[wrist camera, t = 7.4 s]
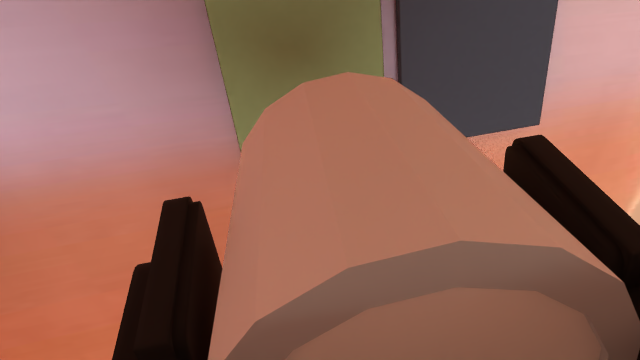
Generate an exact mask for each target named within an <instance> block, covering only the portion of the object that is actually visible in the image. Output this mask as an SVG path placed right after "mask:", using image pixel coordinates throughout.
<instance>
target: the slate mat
mask: <svg viewBox="0 0 640 360" xmlns="http://www.w3.org/2000/svg"><path fill="white" fill-rule="evenodd" d="M557 5H558V0H396V15H397V50H398V83H400V84H401V85H403V86H404V87H406V88H408V89H409V90H411V91H412V92H414V93H415V94H417V95H419V96H420V97H422V98H423V99H425V100H426V101H427V102H428V103H429V104H430V105H431V106H432V107H434V108H435V109H436V110H437V111H438V112H439V113H440V114H441V115H442V116H443V117H444V118H446V119H447V120H448V121H449V122H450V123H451V124H452V125H453V126H454V127H455V128H456V129H457V130H459V131H460V132H461V133H462V134H463V135H464V136H465V137H472V136H477V135H483V134H489V133H494V132H500V131H506V130H512V129H517V128H523V127H529V126H535V125H539V124H540V117H541V110H542V104H543V97H544V91H545V84H546V77H547V71H548V64H549V58H550V51H551V44H552V38H553V31H554V25H555V18H556V11H557Z"/></svg>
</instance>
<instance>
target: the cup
mask: <svg viewBox="0 0 640 360" xmlns="http://www.w3.org/2000/svg"><path fill="white" fill-rule="evenodd" d="M639 350H640V320H639V318H638V316H637V313H636V311H635V308H634V306H633V303H632V301H631V299H630V296H629V294H628V291H627V289H626V287H625V284H624V282H623V281H622V280H620V279H619V278H618V277H617V276H616V275H615V274H614V273H613V272H612V271H611V270H610V269H609V268H607V267H606V266H605V265H604V264H603V263H602V262H601V261H600V260H599V259H598V258H597V257H595V256H594V255H593V254H592V253H591V252H590V251H589V250H588V249H587V248H586V247H585V246H584V245H582V244H581V243H580V242H579V241H578V240H577V239H576V238H575V237H574V236H573V235H572V234H570V233H569V232H568V231H567V230H566V229H565V228H564V227H563V226H562V225H561V224H560V223H559V222H557V221H556V220H555V219H554V218H553V217H552V216H551V215H550V214H549V213H548V212H547V211H545V210H544V209H543V208H542V207H541V206H540V205H539V204H538V203H537V202H536V201H535V200H534V199H532V198H531V197H530V196H529V195H528V194H527V193H526V192H525V191H524V190H523V189H522V188H520V187H519V186H518V185H517V184H516V183H515V182H514V181H513V180H512V179H511V178H510V177H509V176H507V175H506V174H505V173H504V172H503V171H502V170H501V169H500V168H499V167H498V166H497V165H496V164H494V163H493V162H492V161H491V160H490V159H489V158H488V157H487V156H486V155H485V154H484V153H482V152H481V151H480V150H479V149H478V148H477V147H476V146H475V145H474V144H473V143H472V142H471V141H469V140H468V139H467V138H466V137H465V136H464V135H463V134H462V133H461V132H460V131H459V130H457V129H456V128H455V127H454V126H453V125H452V124H451V123H450V122H449V121H448V120H447V119H446V118H444V117H443V116H442V115H441V114H440V113H439V112H438V111H437V110H436V109H435V108H434V107H432V106H431V105H430V104H429V103H428V102H427V101H426V100H425V99H423V98H422V97H420V96H419V95H417V94H415V93H414V92H412V91H411V90H409V89H408V88H406V87H404V86H403V85H401V84H400V83H398V82H397V81H395V80H393V79H392V78H386V77H379V76H372V75H365V74H359V73H352V72H346V73H341V74H337V75H333V76H329V77H325V78H320V79H316V80H312V81H308V82H304V83H302V84H300V85H299V86H297V87H296V88H294V89H293V90H291V91H290V92H288V93H287V94H286V95H284V96H283V97H281V98H280V99H278V100H277V101H275V102H274V103H273V104H271V105H270V106H268V107H267V108H265V110H264V111H263V113H262V114H261V116H260V117H259V119H258V120H257V122H256V124H255V125H254V127H253V128H252V130H251V131H250V133H249V134H248V136H247V137H246V139H245V140H244V142H243V144H242V150H241V157H240V163H239V169H238V175H237V181H236V188H235V194H234V200H233V206H232V212H231V219H230V225H229V231H228V237H227V243H226V250H225V256H224V262H223V268H222V274H221V281H220V287H219V293H218V299H217V305H216V312H215V318H214V324H213V330H212V336H211V343H210V349H209V355H208V360H637V357H638V353H639Z"/></svg>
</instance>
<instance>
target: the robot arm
mask: <svg viewBox="0 0 640 360" xmlns="http://www.w3.org/2000/svg"><path fill="white" fill-rule="evenodd" d="M503 172H504V173H505V174H506V175H507V176H509V177H510V178H511V179H512V180H513V181H514V182H515V183H516V184H517V185H518V186H519V187H520V188H522V189H523V190H524V191H525V192H526V193H527V194H528V195H529V196H530V197H531V198H532V199H534V200H535V201H536V202H537V203H538V204H539V205H540V206H541V207H542V208H543V209H544V210H545V211H547V212H548V213H549V214H550V215H551V216H552V217H553V218H554V219H555V220H556V221H557V222H559V223H560V224H561V225H562V226H563V227H564V228H565V229H566V230H567V231H568V232H569V233H570V234H572V235H573V236H574V237H575V238H576V239H577V240H578V241H579V242H580V243H581V244H582V245H584V246H585V247H586V248H587V249H588V250H589V251H590V252H591V253H592V254H593V255H594V256H595V257H597V258H598V259H599V260H600V261H601V262H602V263H603V264H604V265H605V266H606V267H607V268H609V269H610V270H611V271H612V272H613V273H614V274H615V275H616V276H617V277H618V278H619V279H620V280H622V281H623V282H624V284H625V287H626V289H627V291H628V294H629V296H630V299H631V301H632V303H633V306H634V308H635V311H636V313H637V316H638V318H639V320H640V225H638V224H637V223H636V222H635V221H634V220H633V219H632V218H631V217H630V216H629V215H628V214H627V213H626V212H625V211H624V210H623V209H621V208H620V207H619V206H618V205H617V204H616V203H615V202H614V201H613V200H612V199H611V198H610V197H609V196H608V195H606V194H605V193H604V192H603V191H602V190H601V189H600V188H599V187H598V186H597V185H596V184H595V183H594V182H592V181H591V180H590V179H589V178H588V177H587V176H586V175H585V174H584V173H583V172H582V171H581V170H580V169H579V168H577V167H576V166H575V165H574V164H573V163H572V162H571V161H570V160H569V159H568V158H567V157H566V156H565V155H564V154H562V153H561V152H560V151H559V150H558V149H557V148H556V147H555V146H554V145H553V144H552V143H551V142H550V141H549V140H547V139H546V138H545V137H544V136H542V135H535V136H529V137H524V138H518V139H515V140H514V142H513V144H512V146H509V147H507V149H506V153H505V161H504V170H503ZM221 274H222V266H221V263H220V260H219V257H218V253H217V250H216V247H215V244H214V241H213V238H212V234H211V231H210V228H209V225H208V222H207V219H206V215H205V212H204V209H203V206H202V203H201V202H200V201H198V202H193V201H192V199H191V197H183V198H178V199H172V200H166V201H164V203H163V206H162V211H161V216H160V221H159V226H158V231H157V236H156V240H155V245H154V250H153V255H152V260H151V262H149V263H144V264H138V265H137V266H136V267H135V269H134V272H133V275H132V280H131V284H130V288H129V292H128V296H127V300H126V304H125V308H124V313H123V317H122V321H121V325H120V329H119V333H118V337H117V341H116V345H115V350H114V354H113V358H112V360H208V355H209V349H210V343H211V336H212V330H213V324H214V318H215V312H216V305H217V299H218V293H219V287H220V281H221ZM637 360H640V350H639V353H638V357H637Z"/></svg>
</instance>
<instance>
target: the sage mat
mask: <svg viewBox="0 0 640 360" xmlns="http://www.w3.org/2000/svg"><path fill="white" fill-rule="evenodd" d="M204 2H205V6H206V10H207V14H208V18H209V22H210V26H211V30H212V35H213V39H214V43H215V47H216V51H217V55H218V59H219V64H220V68H221V72H222V76H223V80H224V84H225V88H226V93H227V97H228V101H229V105H230V109H231V113H232V117H233V122H234V126H235V130H236V134H237V138H238V142H239V146H240V151H241V150H242V144H243V142H244V140H245V139H246V137H247V136H248V134H249V133H250V131H251V130H252V128H253V127H254V125H255V124H256V122H257V120H258V119H259V117H260V116H261V114H262V113H263V111H264V110H265V108H267V107H268V106H270V105H271V104H273V103H274V102H275V101H277V100H278V99H280V98H281V97H283V96H284V95H286V94H287V93H288V92H290V91H291V90H293V89H294V88H296V87H297V86H299V85H300V84H302V83H304V82H308V81H312V80H316V79H320V78H325V77H329V76H333V75H337V74H341V73H346V72H352V73H359V74H365V75H372V76H379V77H384V68H383V46H382V24H381V2H380V0H204Z"/></svg>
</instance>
